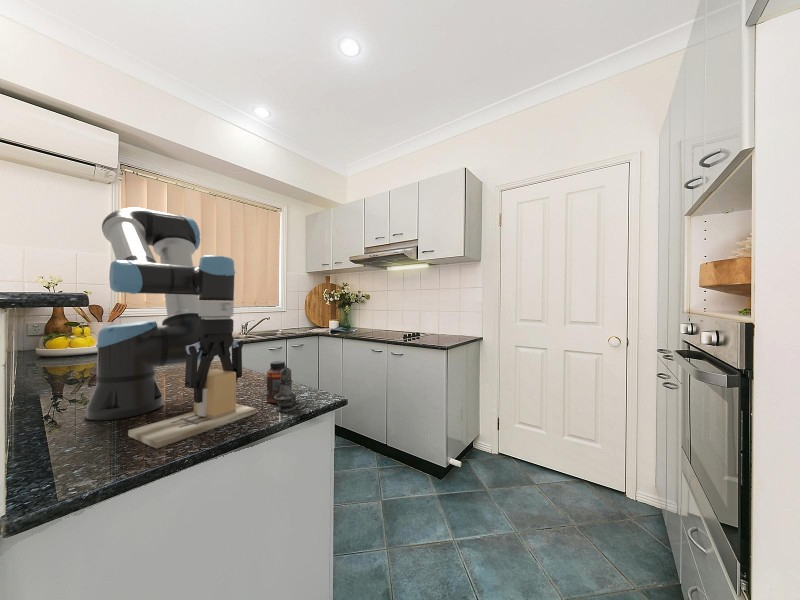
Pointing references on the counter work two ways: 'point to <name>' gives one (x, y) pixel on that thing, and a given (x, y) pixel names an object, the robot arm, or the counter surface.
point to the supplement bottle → (274, 380)
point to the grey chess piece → (285, 392)
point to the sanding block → (220, 393)
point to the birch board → (184, 427)
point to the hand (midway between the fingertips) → (214, 411)
